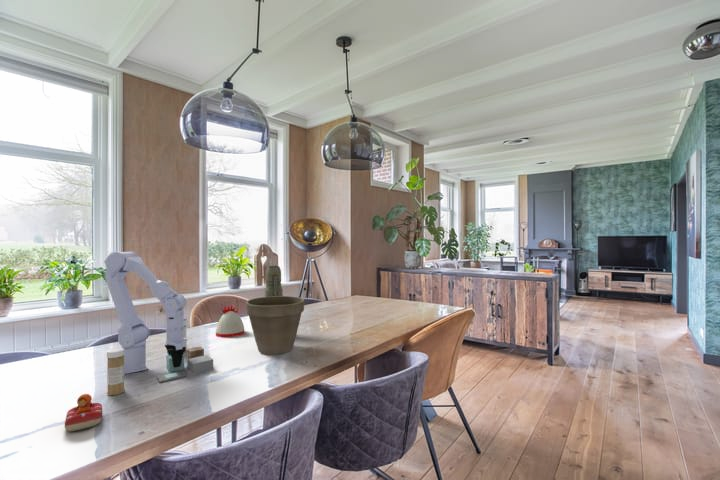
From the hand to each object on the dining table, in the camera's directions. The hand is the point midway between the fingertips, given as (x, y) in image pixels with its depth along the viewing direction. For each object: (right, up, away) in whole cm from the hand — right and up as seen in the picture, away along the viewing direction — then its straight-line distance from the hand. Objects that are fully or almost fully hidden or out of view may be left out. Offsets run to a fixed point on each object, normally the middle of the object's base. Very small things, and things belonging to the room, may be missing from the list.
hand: (175, 364), depth 131 cm
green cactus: (+25, -2, +47) cm, 53 cm away
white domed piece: (+2, -2, +51) cm, 51 cm away
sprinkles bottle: (-7, -2, -21) cm, 23 cm away
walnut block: (+4, -2, +8) cm, 9 cm away
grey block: (+10, -2, -1) cm, 10 cm away
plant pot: (+32, -2, +22) cm, 39 cm away
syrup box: (-10, -2, +21) cm, 24 cm away
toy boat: (-3, -1, -40) cm, 40 cm away
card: (+3, -1, -9) cm, 10 cm away
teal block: (0, -2, 0) cm, 2 cm away
